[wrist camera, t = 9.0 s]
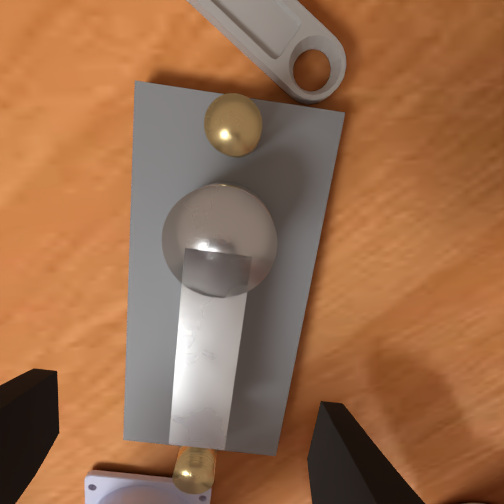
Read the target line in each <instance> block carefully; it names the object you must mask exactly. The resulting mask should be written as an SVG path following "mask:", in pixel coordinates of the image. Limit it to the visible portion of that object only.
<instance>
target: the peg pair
mask: <svg viewBox="0 0 504 504" xmlns="http://www.w3.org/2000/svg"><path fill="white" fill-rule="evenodd" d="M204 129H205V134H206V136H207V139H208V141H209V142H210V144H211V145H212V146H213V147H214V148H215V149H216V150H218V151H219V152H221V153H223V154H225V155H227V156H230V157H233V158H242V157H245V156H247V155H249V154H251V153H252V152H253V151H254V150H255V148H256V147H257V145H258V142H259V139H260V136H261V132H262V117H261V114H260V111H259V109H258V108H257V106H256V105H255V103H254V102H253V101H252V100H251V99H249V98H248V97H246V96H244V95H242V94H238V93H227V94H224V95H221V96H219V97H218V98H216V99H215V100H214V101H213V102H212V103H211V104H210V105H209V107H208V109H207V111H206V114H205V118H204ZM217 451H218V449H208V448H199V447H190V446H180V448H179V452H178V456H177V460H176V464H175V468H174V472H173V476H172V479H173V483H174V485H175V486H176V487H177V488H178V489H179V490H180V491H182V492H184V493H187V494H201V493H204V492H206V491H208V490H209V489H210V488H211V487H212V485H213V483H214V476H215V468H216V459H217Z"/></svg>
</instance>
